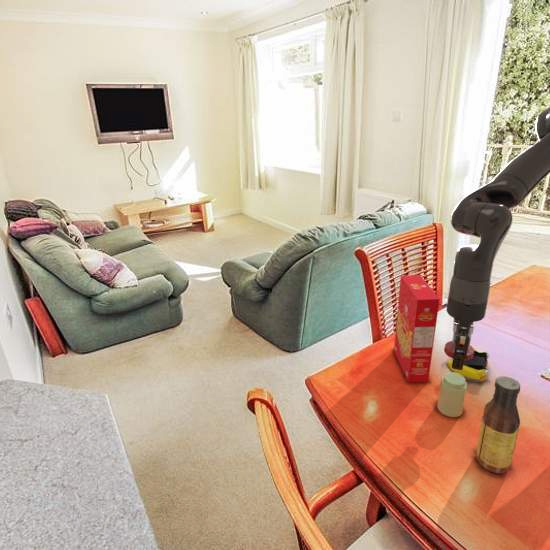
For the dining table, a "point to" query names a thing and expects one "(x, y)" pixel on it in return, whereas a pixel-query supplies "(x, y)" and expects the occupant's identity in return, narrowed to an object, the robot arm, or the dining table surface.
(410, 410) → the dining table surface
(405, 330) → the food packaging
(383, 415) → the dining table surface
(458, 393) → the jar
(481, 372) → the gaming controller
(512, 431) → the sauce bottle
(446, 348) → the lid
